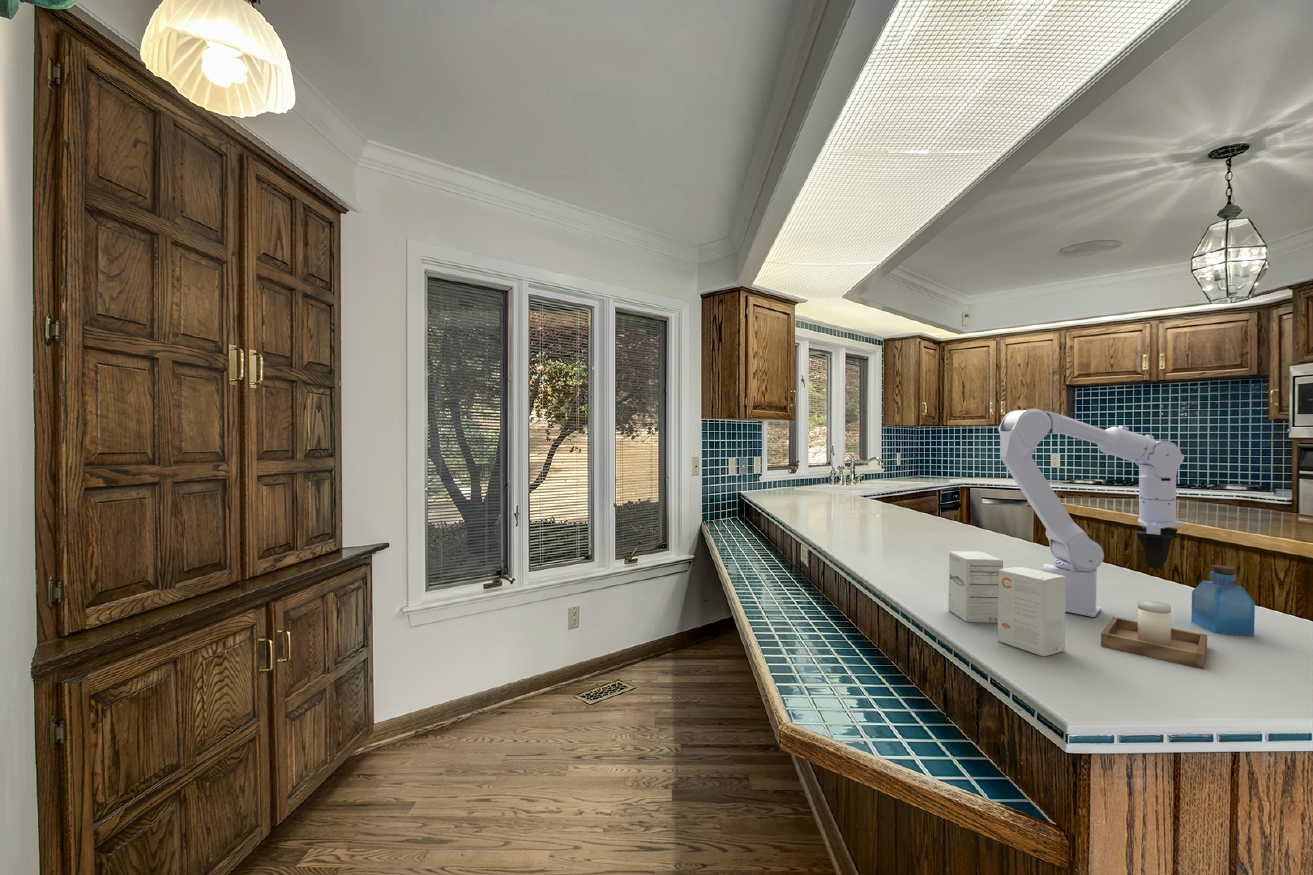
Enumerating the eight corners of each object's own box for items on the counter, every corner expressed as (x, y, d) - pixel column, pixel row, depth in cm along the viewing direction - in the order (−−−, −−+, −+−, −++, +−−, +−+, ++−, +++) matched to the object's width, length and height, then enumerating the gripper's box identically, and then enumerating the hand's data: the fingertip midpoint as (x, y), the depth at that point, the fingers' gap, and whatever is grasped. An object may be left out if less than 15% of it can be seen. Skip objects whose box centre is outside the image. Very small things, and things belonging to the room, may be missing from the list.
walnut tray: (1100, 645, 100) (1101, 633, 100) (1112, 628, 109) (1113, 616, 109) (1202, 668, 91) (1203, 654, 91) (1206, 647, 100) (1207, 634, 100)
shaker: (1136, 643, 100) (1136, 603, 100) (1139, 637, 103) (1138, 598, 103) (1170, 650, 97) (1170, 609, 97) (1171, 643, 100) (1171, 603, 100)
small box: (1065, 651, 98) (1067, 575, 97) (1043, 657, 95) (1045, 579, 95) (1018, 635, 105) (1019, 565, 105) (996, 641, 102) (997, 568, 102)
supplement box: (947, 610, 119) (948, 550, 119) (983, 611, 119) (984, 551, 119) (964, 622, 112) (966, 558, 112) (1003, 623, 112) (1004, 559, 111)
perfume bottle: (1254, 635, 106) (1255, 571, 106) (1214, 633, 107) (1216, 569, 107) (1228, 624, 112) (1229, 563, 112) (1191, 622, 113) (1192, 562, 113)
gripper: (1180, 503, 109) (1180, 574, 109) (1186, 497, 119) (1186, 561, 119) (1133, 500, 114) (1133, 568, 114) (1142, 494, 124) (1142, 556, 124)
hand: (1157, 564), depth 117 cm, fingers open, 7 cm apart
